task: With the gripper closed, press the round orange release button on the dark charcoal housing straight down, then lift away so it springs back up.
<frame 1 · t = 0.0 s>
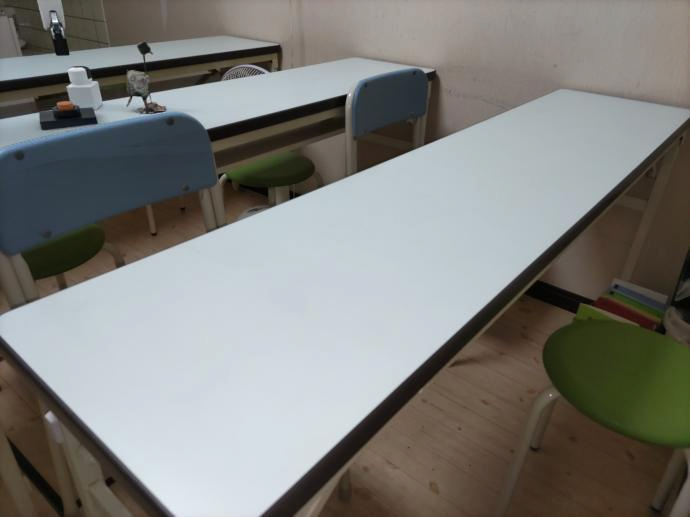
hand: (62, 52, 135), 19 cm above the table, tool pointing down, fingers open, 9 cm apart
medicine bottle: (88, 108, 158), on the table
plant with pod: (148, 112, 156), on the table
release button: (65, 106, 142), point 4 cm above the table, slide at 0.1 cm
button housing: (69, 121, 145), on the table
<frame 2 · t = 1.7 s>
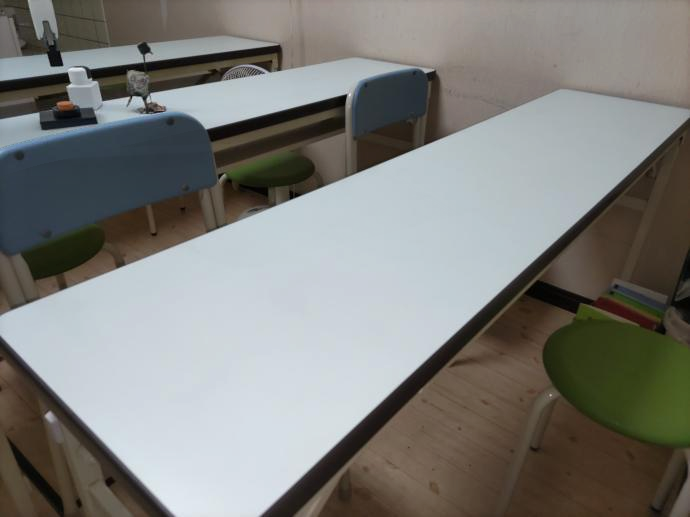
hand: (57, 66, 137), 15 cm above the table, tool pointing down, fingers closed
nothing on the table moved.
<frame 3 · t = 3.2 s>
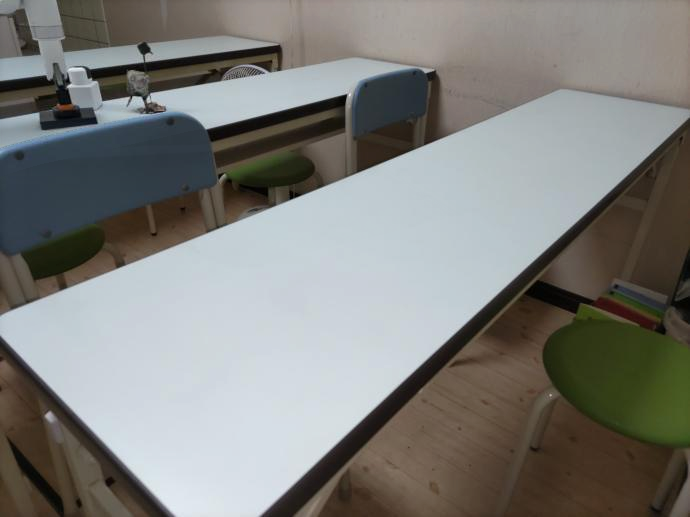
hand: (65, 103, 142), 5 cm above the table, tool pointing down, fingers closed
release button: (65, 107, 143), point 4 cm above the table, slide at -0.2 cm, touching gripper
everything else where it was.
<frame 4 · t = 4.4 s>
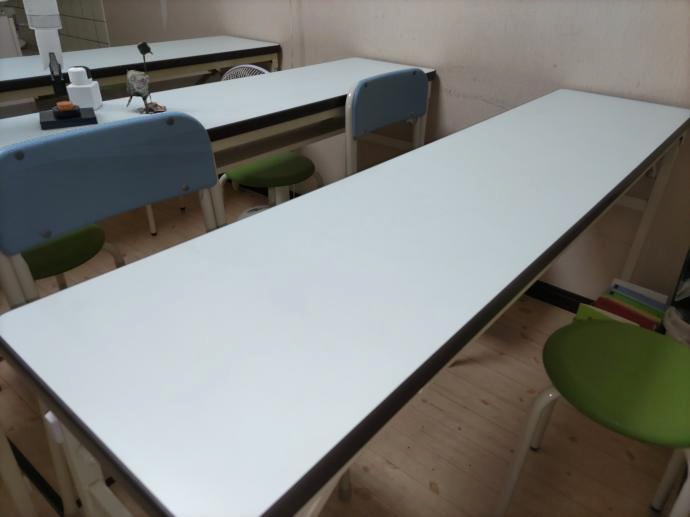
hand: (61, 94, 141), 8 cm above the table, tool pointing down, fingers closed
release button: (65, 106, 142), point 4 cm above the table, slide at 0.1 cm
everything else where it was.
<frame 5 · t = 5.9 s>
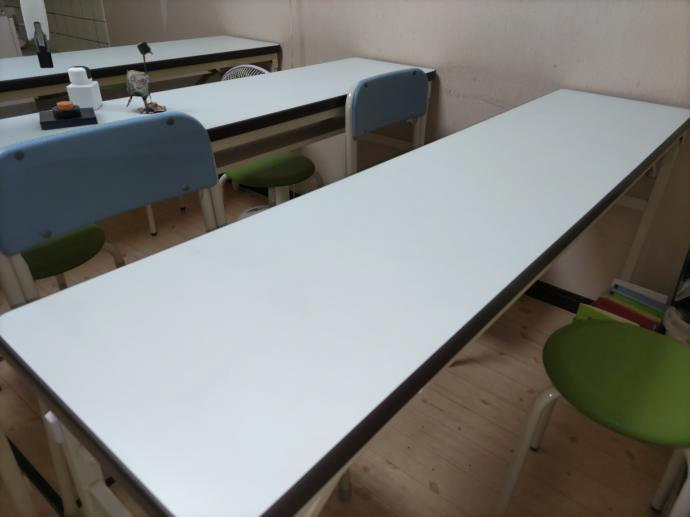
hand: (47, 67, 136), 15 cm above the table, tool pointing down, fingers closed
nothing on the table moved.
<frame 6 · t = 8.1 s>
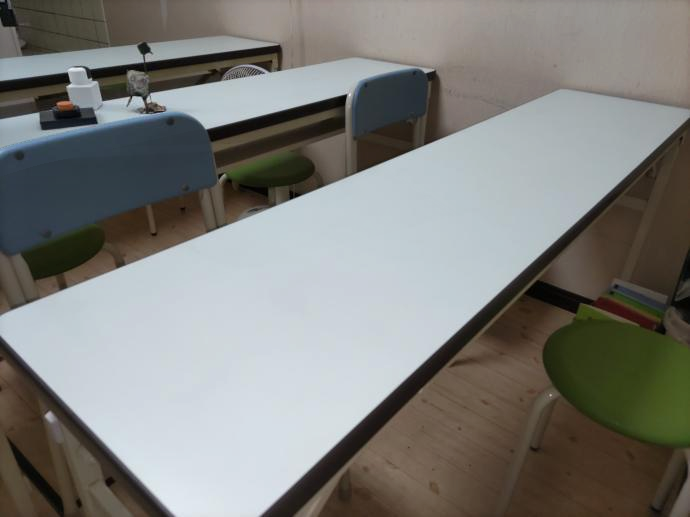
hand: (10, 26, 128), 25 cm above the table, tool pointing down, fingers closed
nothing on the table moved.
at the end: release button pushed in 1.1 cm at the most during the clip, back to where it started at the end; release button slide at 0.1 cm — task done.
